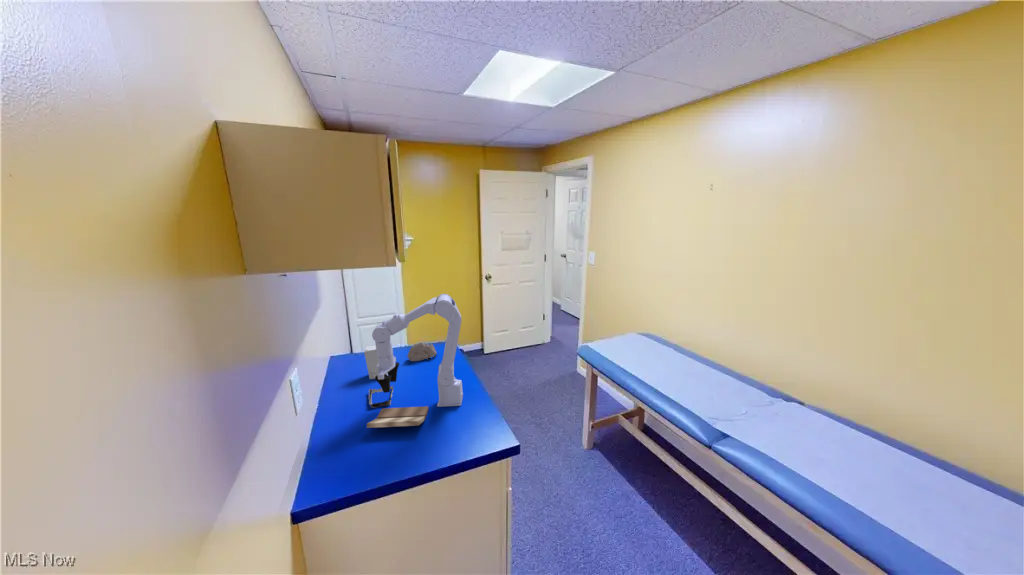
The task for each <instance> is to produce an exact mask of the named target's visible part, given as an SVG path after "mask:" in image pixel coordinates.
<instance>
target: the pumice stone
mask: <svg viewBox="0 0 1024 575" xmlns="http://www.w3.org/2000/svg"><path fill="white" fill-rule="evenodd" d="M436 355H437V351H436V348H435V346H434V344H432V343H431V344H428V343H425V342H424V343H423V342H418V343H415V344H413V345H412V346H411V347H410V349H409V351H408V353H407V356H406V357H407V358H408V360H409V361H410V362H419V361H425V360H424V359H427V360H429V359H428V358H431V357H433V356H434V357H436ZM434 357H433V358H434Z"/></svg>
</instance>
